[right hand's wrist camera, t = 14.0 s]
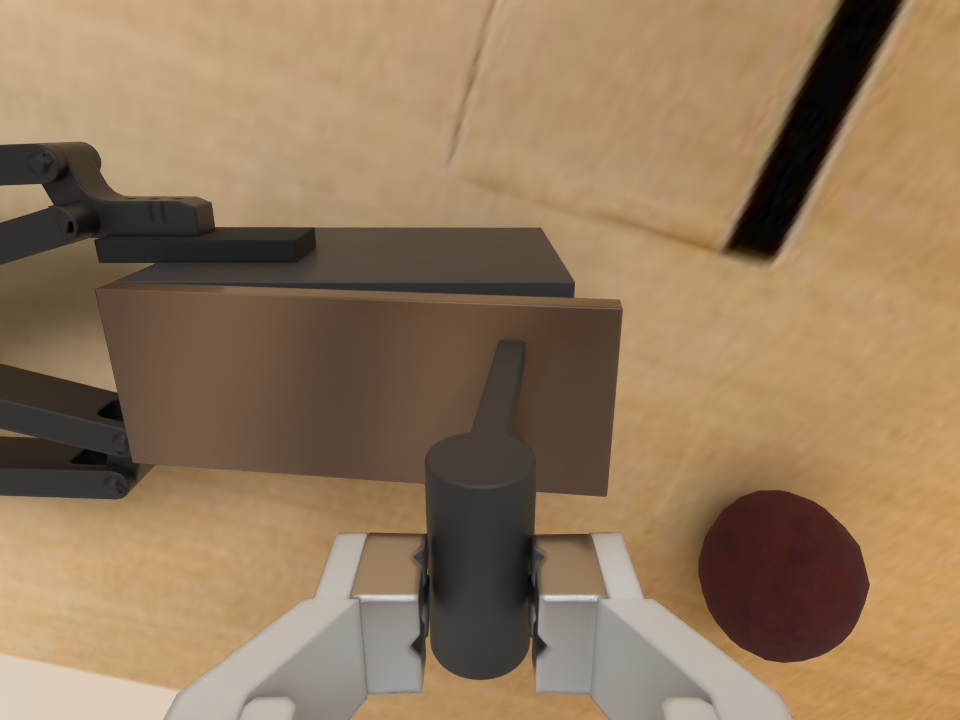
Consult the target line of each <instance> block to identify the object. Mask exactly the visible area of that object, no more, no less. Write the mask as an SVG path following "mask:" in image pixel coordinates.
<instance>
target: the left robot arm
mask: <svg viewBox="0 0 960 720" xmlns="http://www.w3.org/2000/svg"><path fill="white" fill-rule="evenodd" d="M100 168H101V158H100V156H99V154H98V152H97V151H96V150H95V149H94V147H92V146H91V145H89V144H87V143H83V142H63V143H37V144H11V145H0V185H23V184H42V185H43V187H44V189H45V191H46V192H47V194H48V196H49V197H50V199H51V201H52V202H53V204H54V205H53V206H48V207H49V208H47V209H44V210H41V211H38V212H34V213H31V214H28V215H25V216H22V217H18V218H15V219H12V220H9V221H5V222H2V223H0V265H1V264H5V263H8V262H11V261H15V260H18V259H21V258H24V257H28V256H31V255H34V254H38V253H41V252H44V251H48V250H51V249H54V248H57V247H61V246H64V245H67V244H71V243H74V242H77V241H81V240H84V239H87V238H99V239H96V240H94V241H95V246H96V251H97V255H98V260H99V263H158V262H298V261H299V260H301V259H302V258H303V257H305V256H306V255H307V254H308V253H310V252H311V251H312V250H314V249H315V248H316V237H315V228H293V227H215V223H214V216H213V209H212V203H211V202H209V201H206V200H204V199H201V198H198V197H129V196H123V195H120V194H118V193H116V192H115V191H113V190H112V189H111V188H110V187H109V186H108V184H107V183H106V181H105V180H104V178H103V176H102V174H101V173H100ZM0 428H1V429H5V430H9V431H13V432H17V433H22V434H26V435H30V436H34V437H38V438H27V437H0V495H4V496H34V497H64V498H93V499H121V498H123V497H125V496H126V495H127V494H128V493H129V492H130V491H131V490H132V489H133V488H134V487H135V486H136V485H137V484H138V482H139V481H140V480H141V479H142V478H143V477H144V476H145V475H146V474H147V473H148V472H149V471H150V470H151V469H152V468H153V467H154V466H155V465H156V464H144V463H134V462H133V460H132V456H131V451H130V447H129V442H128V437H127V433H126V428H125V424H124V419H123V415H122V410H121V405H120V401H119V396H118V393H116V392H112V391H108V390H104V389H100V388H96V387H92V386H88V385H84V384H80V383H76V382H72V381H68V380H64V379H60V378H56V377H52V376H48V375H44V374H40V373H36V372H32V371H28V370H24V369H20V368H16V367H12V366H8V365H3V364H0Z"/></svg>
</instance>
